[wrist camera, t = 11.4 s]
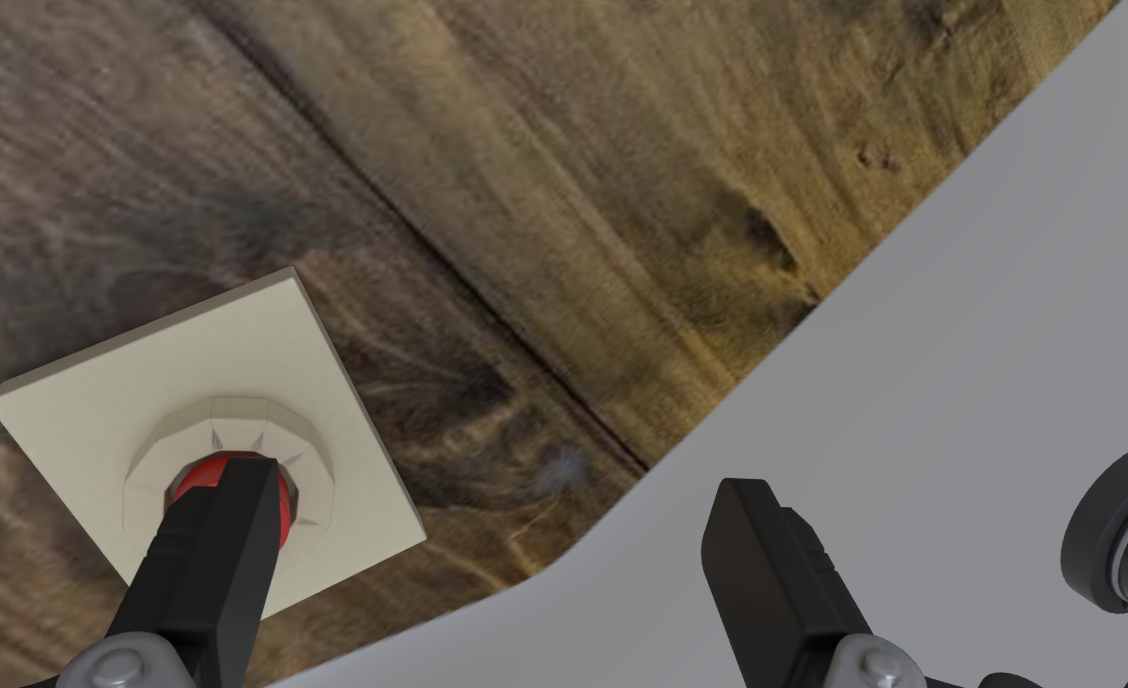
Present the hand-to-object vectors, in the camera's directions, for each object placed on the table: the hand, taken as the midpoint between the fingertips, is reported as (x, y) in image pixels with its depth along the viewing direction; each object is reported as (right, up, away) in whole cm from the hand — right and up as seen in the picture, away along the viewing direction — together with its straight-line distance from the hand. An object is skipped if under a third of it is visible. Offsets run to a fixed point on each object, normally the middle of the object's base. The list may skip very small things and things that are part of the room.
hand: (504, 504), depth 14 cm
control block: (-11, -1, +15) cm, 19 cm away
